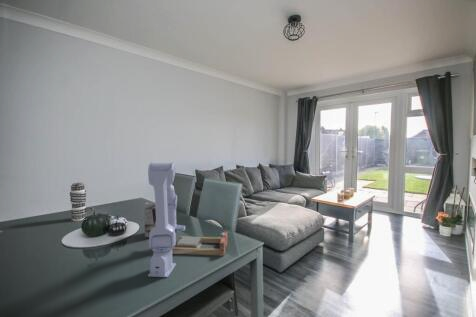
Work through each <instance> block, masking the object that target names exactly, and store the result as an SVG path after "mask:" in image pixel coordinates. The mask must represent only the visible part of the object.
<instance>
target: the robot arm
mask: <svg viewBox="0 0 476 317" xmlns="http://www.w3.org/2000/svg"><path fill="white" fill-rule="evenodd" d="M147 176H148V177H147V178H148V184H149V185H150V186H152V187H153V190H154V202H155V203H154V205H155V208H156V226H155V227H153V228H152V229H151V231H150V234H149V237H148V238H149V240H148V247H149V249H151V250H152V252H153V253H152V257H151V258H150V260H149V273H148V274H147V276H148V277H151V278H152V277H153V278H154V277H155V278H168V277H169V276H170V274H171V273H172V271H173V270H174V268H175V267H176V266H177V263H175V262H173V254H172V247H176V244H177V234H176V233H177V231H182V232H185V231H186V225H182V224H181V225H180V224H177V208H178V207H177V203H178V195H177V194H176V192H175V191H176V190H175V187H174V185H173V184H174V180H175V176H176V164H175V162H154V163H153V162H151V163H149V165H148V170H147Z"/></svg>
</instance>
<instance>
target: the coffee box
mask: <svg viewBox="0 0 476 317" xmlns="http://www.w3.org/2000/svg"><path fill="white" fill-rule="evenodd" d="M155 226H156V208H155V204H152V205H150V206H148V207H145V208H144V237H145V238H149V234H150V231H151V229H152V228H153V227H155Z"/></svg>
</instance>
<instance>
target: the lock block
mask: <svg viewBox="0 0 476 317" xmlns="http://www.w3.org/2000/svg"><path fill="white" fill-rule="evenodd" d="M186 236H187V235H183V237H182V238H181V239H180V238H179V240H178V241H176V247H185V248H201V247H202V246H203V244H202V237H203V236H191V237H186Z"/></svg>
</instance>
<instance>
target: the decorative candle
mask: <svg viewBox="0 0 476 317" xmlns="http://www.w3.org/2000/svg"><path fill="white" fill-rule="evenodd" d="M86 192H87V190H86V188H85V183H84V182H75V183H72V184H71V185H70V192H69V197H70V198H69V199H70V204H71V210H70V211H71V212H70V213H71V215H70V217H71V221H72V220H73V221H72V222H78V221H79V222H80V221H83V219H84V218H85V217H87V207H86V200H87V198H86V197H87V193H86ZM84 220H85V219H84Z"/></svg>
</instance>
